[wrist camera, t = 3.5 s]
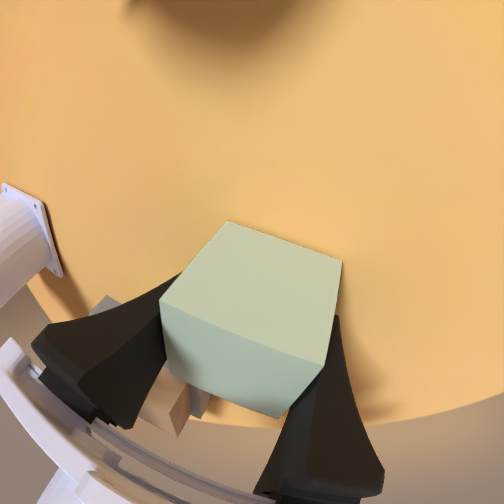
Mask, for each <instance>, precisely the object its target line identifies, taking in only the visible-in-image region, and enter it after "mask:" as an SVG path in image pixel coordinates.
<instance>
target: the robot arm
mask: <svg viewBox="0 0 504 504" xmlns="http://www.w3.org/2000/svg"><path fill="white" fill-rule="evenodd" d="M1 187H2V191H3V193H2V194H0V308H1V307H2V306H3V305H4V304H5V303H6V302H7V301H8V300H9V299H10V298H11V297H12V296H13V295H14V294H15V293H16V292H18V291H19V289H21V288H22V287H23V286H24V285H25V284H26V283H27V282H28V281H29V280H30V279H32V278H33V277H34V276H35V275H36V274H37V273H38V272H40V271H41V270H42V269H43V268H44V267H46V268H47V269H48V270H50V271H51V272H52V273H54V274H55V275H57V276H58V277H59V278H62V277H63V276H64V273H63V270H62V268H61V265H60V262H59V259H58V255H57V252H56V249H55V246H54V242H53V239H52V235H51V232H50V228H49V224H48V220H47V216H46V212H45V207H44V205H43V203H42V202H41V201H40V200H38V199H36V198H34V197H32V196H30V195H28V194H26V193H24V192H22V191H20V190H18V189H16V188H14V187H12V186H10V185H9V184H7V183H5V182H4V183H2V185H1ZM182 272H183V271H182ZM182 272H181V273H182ZM181 273H179V274H178V275H176V276H174V277H173V278H171V279H170V280H168V281H166V282H164V283H163V284H161V285H159V286H158V287H156V288H154V289H152V290H150V291H149V292H147V293H145V294H143V295H141V296H139V297H137V298H135V299H133V300H131V301H129V302H126V303H124V304H122V305H119V306H117V307H114V308H112V309H109V310H106V311H104V312H101V313H98V314H94V315H91V316H87V317H83V318H80V319H76V320H71V321H65V322H59V323H53V324H48V325H47V326H46V327H45V328H44V330H43V331H42V332H41V333H40V334H39V335H38V336H37V337H36V338H35V339H34V341H33V342H32V343H31V347H32V349H33V350H34V352H35V353H36V354H37V355H38V357H39V358H40V359H41V360H42V362H43V363H44V364H45V365H46V368H45V370H44V371H43V372H42V371H41V370H40V369H39V368H38V367H37V366H36V365H35V364H34V363H33V362H32V361H31V359H30V357H29V356H28V355H27V354H26V353H25V351H24V350H23V349H22V348H21V347H20V346H19V345H18V343H17V342H16V341H15V340H14V339H13V338H12V337H10V338H9V339H8V340H7V341H6V343H5V344H4V345H3V346H2V347H1V349H0V394H1V396H2V397H3V399H4V400H5V402H6V403H7V405H8V406H9V408H10V409H11V410H12V412H13V413H14V415H15V416H16V417H17V419H18V420H19V421H20V423H21V424H22V425H23V427H24V428H25V429H26V430H27V432H28V433H29V434H30V435H31V437H32V438H33V439H34V440H35V441H36V442H37V443H38V445H39V446H40V447H41V448H42V449H43V450H44V452H45V453H46V454H47V455H48V456H49V457H50V458H51V459H52V460H53V461H54V462H55V463H56V464H57V465H58V466H59V469H58V470H57V472H56V473H55V475H54V476H53V478H52V479H51V481H50V483H49V484H48V486H47V488H46V489H45V491H44V492H43V494H42V496H41V497H40V499H39V500H38V502H37V504H195V503H193V502H190V501H188V500H186V499H183V498H181V497H179V496H177V495H175V494H173V493H170V492H168V491H166V490H164V489H162V488H160V487H158V486H156V485H154V484H152V483H150V482H148V481H146V480H145V479H143V478H141V477H139V476H137V475H135V474H134V473H132V472H130V471H128V470H127V469H125V468H123V467H122V466H120V465H119V462H120V460H121V459H122V457H121V456H120V455H118V454H117V453H115V452H114V451H112V450H111V449H109V448H108V447H106V446H105V445H103V444H102V443H101V442H99V441H98V440H96V439H95V438H93V437H92V435H91V430H92V431H94V432H95V433H97V434H98V435H99V436H101V437H102V438H103V439H105V440H106V441H108V442H109V443H111V444H112V445H114V446H115V447H117V448H118V449H120V450H121V451H123V452H125V453H126V454H128V455H129V456H131V457H133V458H134V459H136V460H138V461H140V462H141V463H143V464H145V465H147V466H148V467H151V468H152V469H154V470H156V471H158V472H160V473H162V474H164V475H166V476H168V477H170V478H172V479H174V480H176V481H178V482H180V483H182V484H185V485H187V486H189V487H191V488H194V489H196V490H199V491H201V492H204V493H206V494H209V495H211V496H214V497H216V498H219V499H222V500H225V501H228V502H231V503H234V504H360V500H361V498H365V497H371V496H377V495H378V494H380V493H381V492H382V488H383V483H384V473H385V470H384V468H383V466H382V465H381V463H380V461H379V459H378V457H377V455H376V453H375V451H374V449H373V447H372V445H371V443H370V440H369V439H368V436H367V433H366V431H365V428H364V426H363V423H362V421H361V418H360V415H359V412H358V409H357V406H356V403H355V400H354V396H353V393H352V389H351V385H350V381H349V377H348V373H347V368H346V363H345V357H344V352H343V346H342V339H341V331H340V322H339V317H338V315H335V314H334V319H333V325H332V330H331V335H330V340H329V345H328V350H327V355H326V360H325V364H324V367H323V368H322V369H321V370H320V372H319V373H318V374H317V375H316V377H315V378H314V379H313V380H312V382H311V383H310V384H309V385H308V386H307V388H306V389H305V390H304V391H303V392H302V393H301V395H300V396H299V397H298V398H297V399H296V400H295V401H294V403H293V404H292V405H291V406H290V409H289V413H288V415H287V418H286V421H285V423H284V426H283V428H282V431H281V433H280V436H279V438H278V440H277V443H276V445H275V447H274V450H273V452H272V454H271V456H270V458H269V461H268V463H267V465H266V467H265V469H264V471H263V473H262V475H261V477H260V479H259V481H258V483H257V485H256V486H255V489H254V491H253V494H251V493H247V492H244V491H241V490H238V489H234V488H232V487H229V486H226V485H223V484H221V483H218V482H215V481H213V480H210V479H208V478H205V477H203V476H200V475H198V474H196V473H193V472H191V471H189V470H187V469H185V468H182V467H180V466H178V465H176V464H174V463H172V462H170V461H168V460H166V459H164V458H162V457H160V456H158V455H156V454H154V453H153V452H151V451H149V450H147V449H145V448H144V447H142V446H140V445H139V444H137V443H135V442H134V441H132V440H130V439H129V438H127V437H125V436H124V435H122V434H121V433H119V432H118V431H116V430H115V429H113V428H112V427H110V426H109V423H111V424H112V425H114V426H115V427H116V426H117V425H118V426H120V427H122V428H123V429H131V428H133V426H134V423H135V421H136V419H137V416H138V414H139V412H140V410H141V408H142V405H143V403H144V401H145V399H146V397H147V395H148V393H149V391H150V389H151V387H152V386H153V384H154V382H155V380H156V378H157V376H158V374H159V373H160V371H161V369H162V367H163V365H164V364H165V362H166V360H167V356H166V349H165V343H164V336H163V328H162V321H161V312H160V304H159V299H160V298H161V297H162V296H163V294H164V293H165V292H166V291H167V290H168V288H169V287H170V286H171V285H172V284H173V283H174V281H175V280H176V279H177V278H178V277H179V275H180V274H181ZM89 428H90V429H91V430H90V429H89ZM254 494H255V495H254ZM257 495H258V496H257ZM261 496H262V497H261Z"/></svg>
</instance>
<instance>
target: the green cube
mask: <svg viewBox="0 0 504 504" xmlns="http://www.w3.org/2000/svg"><path fill="white" fill-rule="evenodd" d="M341 267H342V261H340V260H337V259H335V258H332V257H329V256H326V255H324V254H321V253H318V252H315V251H313V250H310V249H307V248H304V247H301V246H299V245H296V244H293V243H290V242H287V241H285V240H282V239H279V238H276V237H273V236H270V235H268V234H265V233H262V232H259V231H256V230H253V229H250V228H247V227H244V226H242V225H239V224H236V223H233V222H230V221H227V222H226V223H225V224H224V225H223V226H222V227H221V228H220V229H219V231H218V232H217V233H216V234H215V235H214V236H213V237H212V238H211V240H210V241H209V242H208V243H207V244H206V245H205V246H204V248H203V249H202V250H201V251H200V252H199V253H198V254H197V256H196V257H195V258H194V259H193V260H192V261H191V263H190V264H189V265H188V266H187V267H186V268H185V270H184V271H183V272H182V273H181V274H180V275H179V277H178V278H177V279H176V280H175V281H174V283H173V284H172V285H171V286H170V287H169V288H168V290H167V291H166V292H165V293H164V294H163V296H162V297H161V298H160V299H159V304H160V312H161V321H162V328H163V336H164V343H165V349H166V356H167V362H168V368H169V373H170V374H171V375H173V376H175V377H177V378H179V379H181V380H183V381H185V382H187V383H189V384H191V385H193V386H195V387H197V388H200V389H202V390H204V391H206V392H208V393H211V394H213V395H215V396H218V397H220V398H222V399H225V400H227V401H230V402H232V403H235V404H237V405H240V406H242V407H245V408H247V409H250V410H253V411H256V412H258V413H261V414H264V415H267V416H270V417H273V418H276V419H279V418H280V417H281V416H282V415H283V414H284V413H285V411H286V410H287V409H288V408H289V407H290V406H291V405H292V404H293V403H294V401H295V400H296V399H297V398H298V397H299V396H300V395H301V393H302V392H303V391H304V390H305V389H306V388H307V386H308V385H309V384H310V383H311V382H312V380H313V379H314V378H315V377H316V375H317V374H318V373H319V372H320V370H321V369H322V368H323V367H324V364H325V360H326V355H327V350H328V345H329V340H330V335H331V330H332V325H333V319H334V313H335V308H336V301H337V295H338V289H339V282H340V275H341Z"/></svg>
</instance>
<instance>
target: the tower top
mask: <svg viewBox="0 0 504 504" xmlns="http://www.w3.org/2000/svg"><path fill="white" fill-rule="evenodd" d="M190 414H191V399H190V384H189V383H187V382H185V381H183V380H181V379H179V378H177V377H175V376H173V375H171V374H170V373H169V369H168V368H166V367H164V366H163V367H162V369H161V371H160V373H159V374H158V376H157V378H156V380H155V382H154V384H153V386H152V387H151V389H150V391H149V393H148V395H147V397H146V399H145V401H144V403H143V405H142V408H141V410H140V412H139V414H138V416H139V417H140V418H142V419H144V420H145V421H147V422H149V423H151V424H152V425H154V426H156V427H158V428H160V429H162V430H163V431H165V432H167V433H169V434H171V435H173V436H175V437H178V436H179V434H180V432H181V430H182V429H183V427H184V425H185V423H186V421H187V420H188V418H189V416H190Z"/></svg>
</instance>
